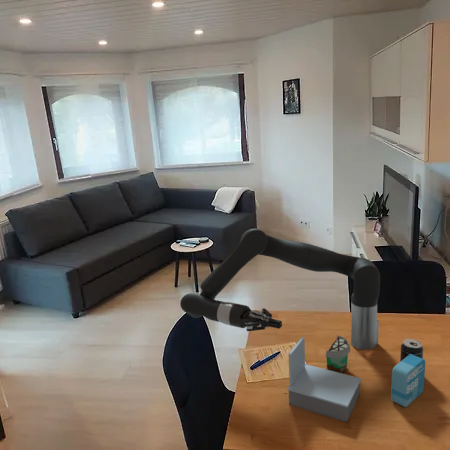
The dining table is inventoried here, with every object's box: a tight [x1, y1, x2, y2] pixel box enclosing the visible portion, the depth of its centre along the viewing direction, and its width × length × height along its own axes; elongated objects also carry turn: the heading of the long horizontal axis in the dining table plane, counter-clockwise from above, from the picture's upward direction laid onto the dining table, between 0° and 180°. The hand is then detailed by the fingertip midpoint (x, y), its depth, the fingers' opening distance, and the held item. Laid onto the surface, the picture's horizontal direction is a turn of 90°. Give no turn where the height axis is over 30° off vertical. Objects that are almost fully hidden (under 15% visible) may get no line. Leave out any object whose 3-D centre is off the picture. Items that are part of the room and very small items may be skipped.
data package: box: [390, 354, 426, 408], centre depth 136 cm, size 12×4×12 cm, turn 131°
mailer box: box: [288, 382, 361, 423], centre depth 138 cm, size 18×14×5 cm
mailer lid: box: [286, 336, 362, 408], centre depth 136 cm, size 19×15×12 cm
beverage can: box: [399, 338, 424, 363], centre depth 146 cm, size 7×7×12 cm
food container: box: [325, 335, 351, 374], centre depth 152 cm, size 12×6×10 cm, turn 148°
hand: (281, 324), depth 140 cm, fingers closed
